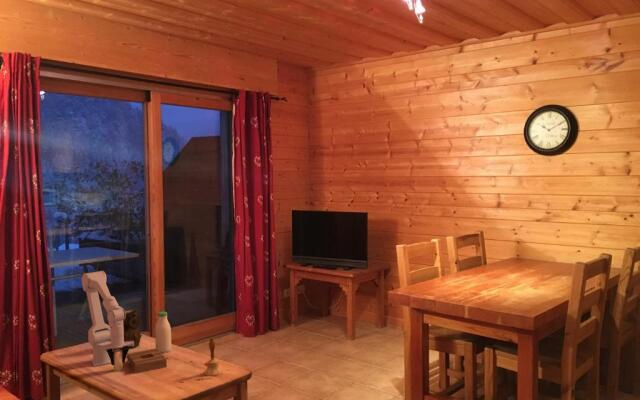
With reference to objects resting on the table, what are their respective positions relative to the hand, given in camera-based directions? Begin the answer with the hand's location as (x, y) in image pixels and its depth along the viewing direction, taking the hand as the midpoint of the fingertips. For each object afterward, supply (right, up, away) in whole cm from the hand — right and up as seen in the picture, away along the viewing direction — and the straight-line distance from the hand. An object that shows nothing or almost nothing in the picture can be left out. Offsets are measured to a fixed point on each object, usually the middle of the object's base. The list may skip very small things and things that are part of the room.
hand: (118, 363), depth 244 cm
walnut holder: (+11, -2, +7) cm, 13 cm away
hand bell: (+45, -3, -5) cm, 46 cm away
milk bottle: (+13, -2, +26) cm, 29 cm away
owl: (-9, -2, +33) cm, 35 cm away
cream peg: (0, -3, 0) cm, 3 cm away
